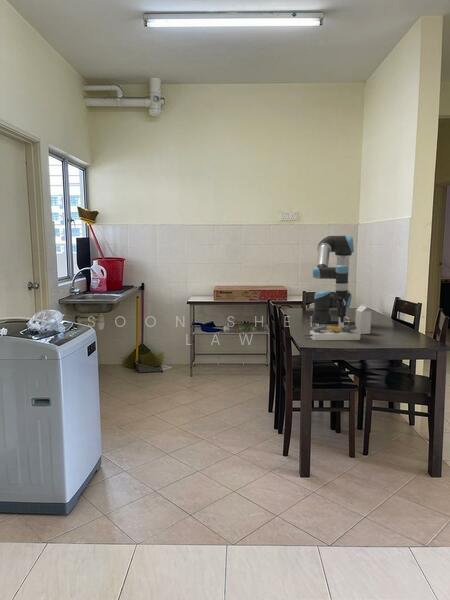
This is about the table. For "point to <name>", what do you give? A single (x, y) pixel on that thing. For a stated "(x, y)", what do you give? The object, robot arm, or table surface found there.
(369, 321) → the milk carton
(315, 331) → the rocker
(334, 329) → the rocker mid
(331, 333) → the power strip
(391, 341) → the table surface
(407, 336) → the table surface
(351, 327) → the rocker
